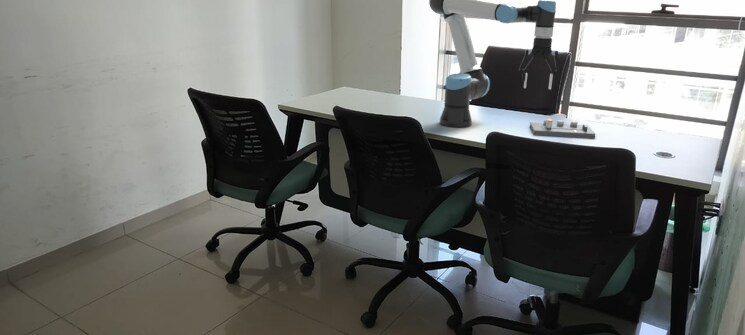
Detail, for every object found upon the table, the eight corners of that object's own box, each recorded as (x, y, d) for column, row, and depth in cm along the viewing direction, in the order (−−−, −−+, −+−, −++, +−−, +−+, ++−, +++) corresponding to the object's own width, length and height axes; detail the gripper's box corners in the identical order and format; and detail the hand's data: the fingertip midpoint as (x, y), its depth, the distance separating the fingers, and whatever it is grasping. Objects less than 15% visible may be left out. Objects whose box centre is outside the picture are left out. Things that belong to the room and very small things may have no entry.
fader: (546, 128, 240) (547, 120, 238) (545, 125, 243) (546, 118, 242) (551, 128, 239) (552, 121, 238) (550, 126, 243) (551, 118, 242)
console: (533, 134, 238) (534, 125, 236) (529, 126, 252) (530, 118, 251) (594, 138, 233) (596, 129, 232) (587, 129, 248) (588, 121, 247)
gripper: (517, 37, 228) (511, 88, 235) (572, 38, 225) (565, 91, 232) (515, 35, 235) (510, 85, 242) (568, 37, 232) (562, 88, 239)
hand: (537, 88), depth 237 cm, fingers open, 10 cm apart
